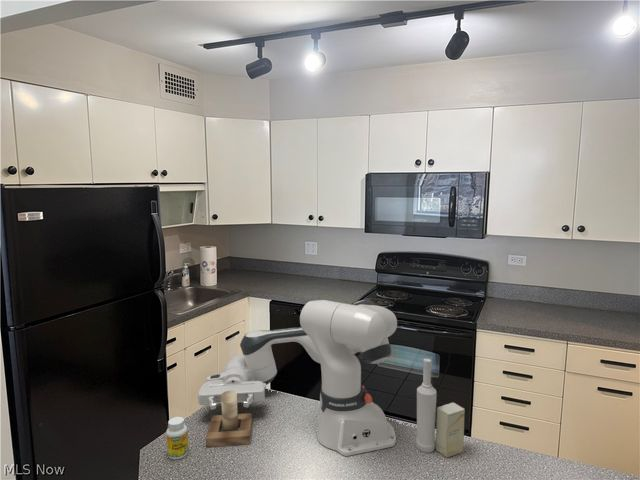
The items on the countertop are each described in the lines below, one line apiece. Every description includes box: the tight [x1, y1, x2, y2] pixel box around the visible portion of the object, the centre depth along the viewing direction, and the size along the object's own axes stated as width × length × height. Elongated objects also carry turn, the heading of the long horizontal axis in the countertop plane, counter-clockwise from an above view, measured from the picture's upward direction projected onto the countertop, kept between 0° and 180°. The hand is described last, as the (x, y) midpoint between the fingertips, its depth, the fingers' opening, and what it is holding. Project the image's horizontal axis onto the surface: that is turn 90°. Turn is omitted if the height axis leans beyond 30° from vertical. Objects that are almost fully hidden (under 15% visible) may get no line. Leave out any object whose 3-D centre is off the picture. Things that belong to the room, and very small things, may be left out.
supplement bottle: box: [165, 416, 190, 460], centre depth 112 cm, size 5×5×10 cm
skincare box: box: [435, 402, 466, 458], centre depth 112 cm, size 6×4×12 cm
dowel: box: [221, 391, 239, 432], centre depth 121 cm, size 4×4×12 cm
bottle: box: [415, 358, 438, 454], centre depth 113 cm, size 5×5×25 cm
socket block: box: [205, 412, 253, 448], centre depth 122 cm, size 12×12×2 cm
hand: (229, 406), depth 123 cm, fingers open, 8 cm apart
